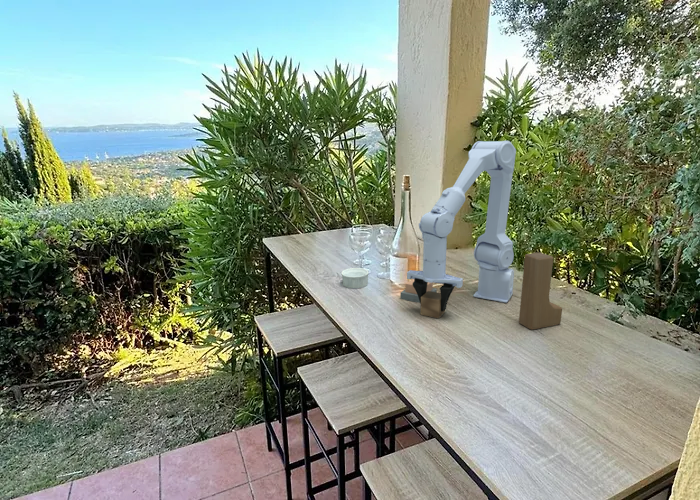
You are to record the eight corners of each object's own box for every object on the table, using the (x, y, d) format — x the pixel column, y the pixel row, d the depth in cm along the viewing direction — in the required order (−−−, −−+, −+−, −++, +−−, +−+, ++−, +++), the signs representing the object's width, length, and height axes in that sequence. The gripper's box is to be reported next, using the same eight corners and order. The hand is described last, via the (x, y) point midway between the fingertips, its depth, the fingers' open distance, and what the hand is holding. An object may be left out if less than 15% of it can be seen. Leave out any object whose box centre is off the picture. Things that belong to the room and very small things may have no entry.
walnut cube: (445, 311, 106) (446, 294, 105) (438, 318, 102) (439, 300, 101) (427, 307, 109) (428, 290, 108) (420, 314, 105) (420, 296, 104)
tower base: (436, 296, 118) (436, 288, 118) (426, 305, 112) (426, 297, 111) (411, 291, 123) (411, 284, 122) (400, 300, 116) (400, 292, 116)
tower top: (432, 289, 117) (432, 281, 117) (424, 295, 113) (424, 287, 112) (414, 285, 121) (414, 277, 120) (405, 291, 116) (405, 283, 115)
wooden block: (547, 317, 102) (554, 249, 97) (561, 324, 97) (569, 254, 93) (517, 322, 99) (524, 253, 94) (530, 330, 95) (538, 258, 90)
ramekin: (358, 291, 123) (358, 278, 122) (336, 286, 128) (335, 273, 127) (374, 283, 130) (374, 270, 128) (352, 278, 135) (352, 266, 134)
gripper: (402, 259, 102) (401, 307, 106) (457, 267, 95) (455, 319, 98) (413, 252, 108) (412, 298, 112) (466, 259, 100) (463, 309, 104)
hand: (433, 307), depth 105 cm, fingers closed on walnut cube, 5 cm apart
